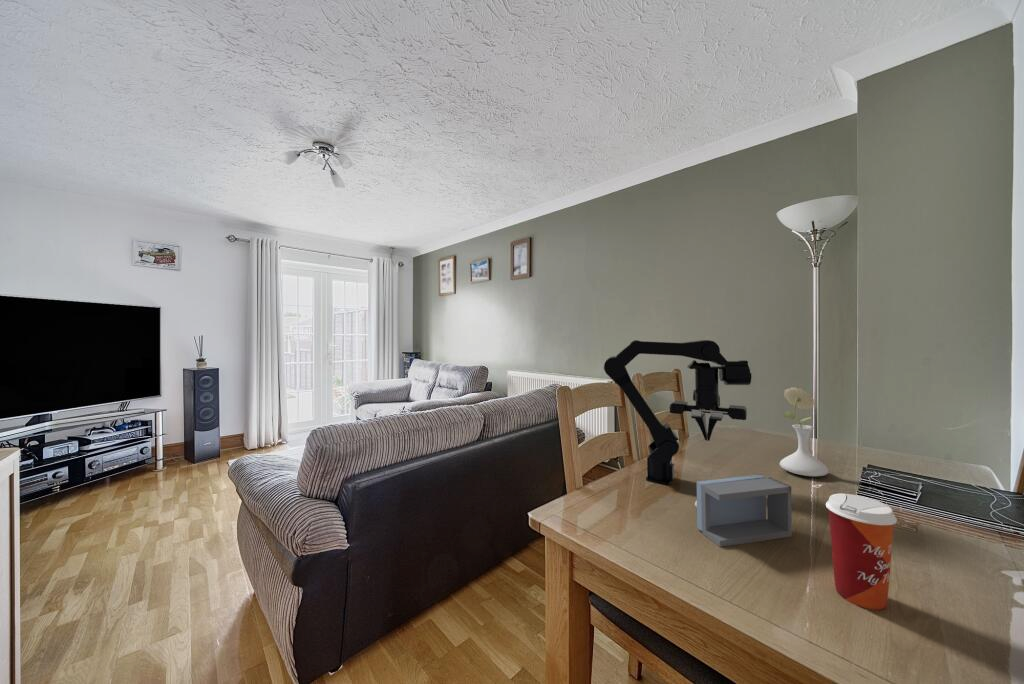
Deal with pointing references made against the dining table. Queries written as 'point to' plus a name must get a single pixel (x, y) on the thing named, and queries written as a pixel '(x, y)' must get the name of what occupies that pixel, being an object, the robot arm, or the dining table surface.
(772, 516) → the cabinet
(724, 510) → the door
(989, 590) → the dining table surface
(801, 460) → the flower in vase
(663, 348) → the robot arm
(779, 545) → the dining table surface
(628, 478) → the dining table surface
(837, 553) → the coffee cup
